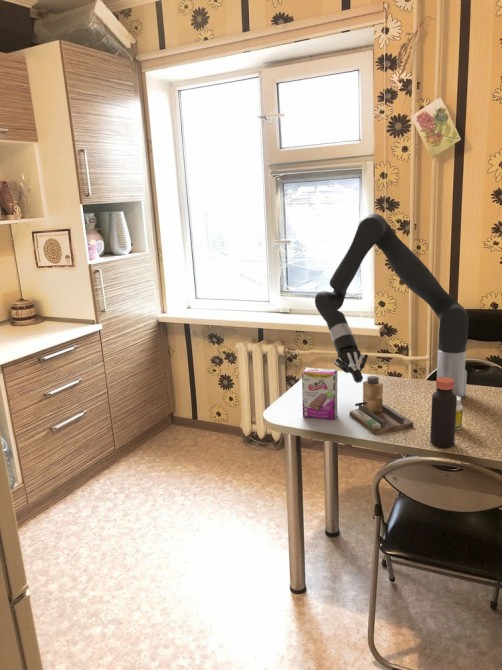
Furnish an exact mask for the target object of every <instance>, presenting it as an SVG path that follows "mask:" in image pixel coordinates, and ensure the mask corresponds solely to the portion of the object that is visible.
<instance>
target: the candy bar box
mask: <svg viewBox="0 0 502 670" xmlns="http://www.w3.org/2000/svg"><path fill="white" fill-rule="evenodd" d="M301 381H302V383H301V384H302V391H301V392H302V393H301V394H302V417H303V418H314V419H323V420H332V421H334V420H336V418H337V416H338V369H332V368H331V369H329V368H318V367H317V368H316V367H304V369H303V370H302V372H301Z"/></svg>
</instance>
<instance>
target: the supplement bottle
mask: <svg viewBox="0 0 502 670" xmlns="http://www.w3.org/2000/svg"><path fill="white" fill-rule="evenodd" d="M456 397H457V405H456V423H455V431H458V430H460V429H462V425H463V413H464V412H463V410H464V406H463V405H462V404H461V403H462V398H460V397H458V396H456Z"/></svg>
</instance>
